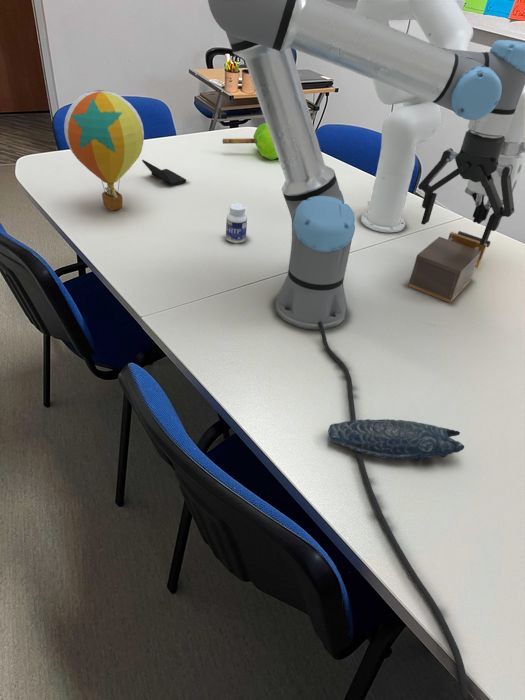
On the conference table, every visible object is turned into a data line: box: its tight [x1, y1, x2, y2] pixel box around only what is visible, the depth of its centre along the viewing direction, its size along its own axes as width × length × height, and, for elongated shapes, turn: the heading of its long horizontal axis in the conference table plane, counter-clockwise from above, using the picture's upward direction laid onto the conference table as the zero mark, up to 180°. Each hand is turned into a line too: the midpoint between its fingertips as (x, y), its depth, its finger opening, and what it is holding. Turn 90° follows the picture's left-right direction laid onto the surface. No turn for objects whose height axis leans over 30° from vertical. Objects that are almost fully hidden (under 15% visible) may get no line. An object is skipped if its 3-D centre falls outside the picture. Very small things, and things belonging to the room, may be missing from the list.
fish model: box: [327, 418, 465, 461], centre depth 82 cm, size 7×21×5 cm, turn 84°
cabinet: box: [407, 236, 481, 304], centre depth 123 cm, size 13×11×8 cm
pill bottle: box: [225, 203, 248, 244], centre depth 133 cm, size 5×5×9 cm
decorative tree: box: [222, 122, 278, 161], centre depth 186 cm, size 18×10×30 cm
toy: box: [63, 89, 145, 212], centre depth 136 cm, size 20×20×30 cm
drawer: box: [447, 230, 492, 269], centre depth 131 cm, size 18×9×6 cm, turn 143°
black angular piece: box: [141, 159, 187, 187], centre depth 162 cm, size 12×7×10 cm
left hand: (453, 232), depth 115 cm, fingers open, 13 cm apart
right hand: (478, 221), depth 129 cm, fingers closed
